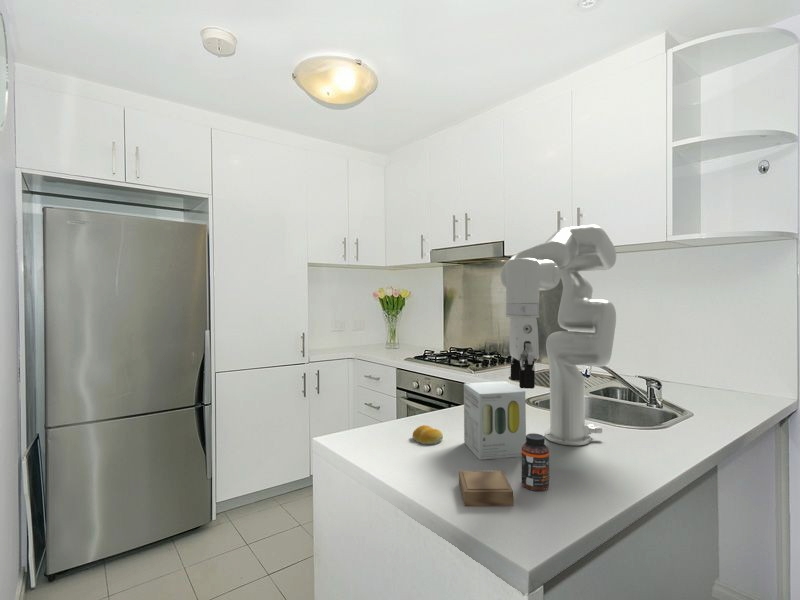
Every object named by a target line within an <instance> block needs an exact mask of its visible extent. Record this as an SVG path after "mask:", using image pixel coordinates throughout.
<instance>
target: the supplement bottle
mask: <svg viewBox="0 0 800 600" xmlns="http://www.w3.org/2000/svg"><path fill="white" fill-rule="evenodd" d="M545 443H546V437H545V435H543V434H539V433H533V432H532V433H526V443H524V444H523V445H522V453H521V454H522V456H521V471H520V473H521V478H520V479H521V484H522V486H523V487H525V488H526V489H528V490H530V491H537V492H538V491H541V492H542V491H546V490H547V489H548V488H549V486H550V448H549V447H548V446H547V445H546V444H545Z"/></svg>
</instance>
